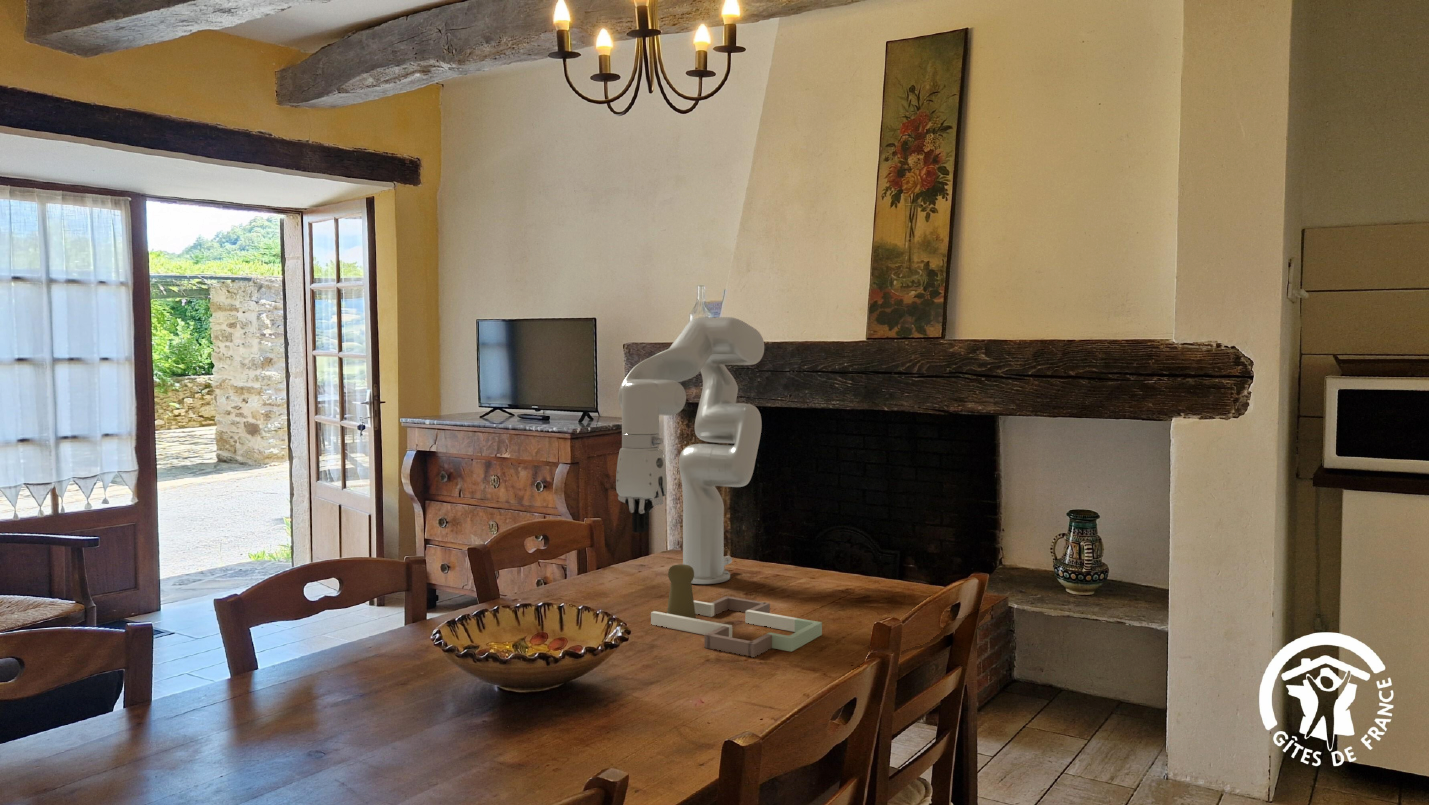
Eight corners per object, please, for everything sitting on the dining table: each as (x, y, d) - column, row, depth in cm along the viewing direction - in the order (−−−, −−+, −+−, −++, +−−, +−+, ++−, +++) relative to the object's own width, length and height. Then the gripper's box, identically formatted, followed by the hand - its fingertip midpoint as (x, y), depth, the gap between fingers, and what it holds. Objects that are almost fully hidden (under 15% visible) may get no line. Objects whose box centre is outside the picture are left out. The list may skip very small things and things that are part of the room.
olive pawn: (697, 615, 200) (697, 562, 199) (694, 624, 194) (694, 569, 193) (668, 615, 201) (668, 561, 200) (663, 623, 195) (663, 568, 194)
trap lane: (703, 603, 209) (703, 592, 209) (836, 626, 193) (836, 614, 193) (630, 632, 188) (630, 620, 188) (773, 661, 172) (773, 648, 171)
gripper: (681, 442, 200) (681, 532, 201) (622, 438, 208) (622, 525, 209) (659, 445, 193) (659, 538, 194) (600, 441, 201) (600, 530, 202)
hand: (640, 531), depth 201 cm, fingers closed
